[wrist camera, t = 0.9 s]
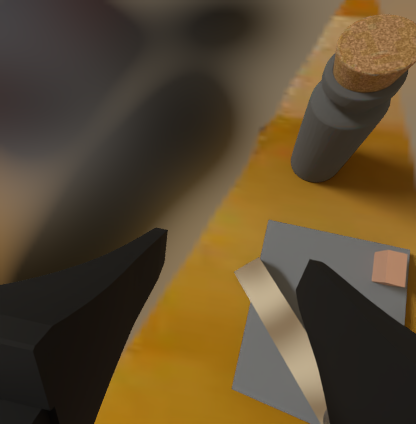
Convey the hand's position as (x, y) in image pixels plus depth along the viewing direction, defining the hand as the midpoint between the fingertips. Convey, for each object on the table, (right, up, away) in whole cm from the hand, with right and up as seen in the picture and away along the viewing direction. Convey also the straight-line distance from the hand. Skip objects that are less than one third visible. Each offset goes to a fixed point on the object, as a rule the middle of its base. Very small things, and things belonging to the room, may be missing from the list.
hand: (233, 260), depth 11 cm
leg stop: (+16, -3, +11) cm, 20 cm away
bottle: (+12, +9, +17) cm, 22 cm away
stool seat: (+10, -9, +12) cm, 18 cm away
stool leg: (+7, -10, +11) cm, 16 cm away
